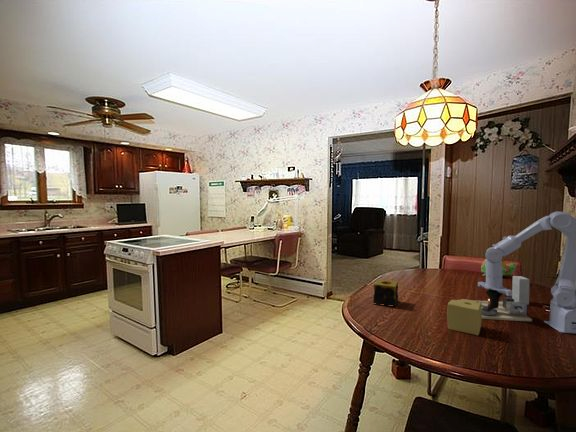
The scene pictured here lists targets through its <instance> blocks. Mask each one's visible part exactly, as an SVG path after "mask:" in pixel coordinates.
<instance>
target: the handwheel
mask: <svg viewBox="0 0 576 432" xmlns="http://www.w3.org/2000/svg"><path fill="white" fill-rule="evenodd" d="M487 301H488V306H484V305H482V315H487V316H495V315H497V310H496V309H495V308H492V307H491V305H490V298H489V297H488V298H487Z"/></svg>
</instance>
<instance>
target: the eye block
mask: <svg viewBox="0 0 576 432" xmlns="http://www.w3.org/2000/svg"><path fill="white" fill-rule="evenodd" d="M515 306H517V307H519V308H521V309H522V310H524V313H520V312H519V311H517V310H515ZM527 308H528V305H527V304H525V303H523V302H511V301H506V312H507V313H508V314H509V315H523V316H528V315H527V314H528V313H527V310H528V309H527Z"/></svg>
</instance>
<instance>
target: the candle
mask: <svg viewBox="0 0 576 432" xmlns="http://www.w3.org/2000/svg"><path fill="white" fill-rule="evenodd" d="M398 288H399V281H396V280H389V279H388V280H386V279H377V280H376V281H375V282H374V283H373V290H374V292H373V297H372V298H373V299H372V300H373V301H372V302H373V303H376V304H384V305H393V306H395V305H396V303H397V304H398V302H399V293H398V292H399V291H398V290H399V289H398ZM397 301H398V302H397ZM373 303H372V304H373ZM396 306H397V305H396ZM396 306H395V307H396Z"/></svg>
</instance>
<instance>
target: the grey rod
mask: <svg viewBox="0 0 576 432" xmlns="http://www.w3.org/2000/svg"><path fill="white" fill-rule="evenodd" d="M506 301H511V302H514V299H513V298H512V296H502V302H503V307H504V308H505V309H506ZM515 309H516V310H517V311H519V312H520V313H524V310H522V309H521V308H519V307H518V306H515Z"/></svg>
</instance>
